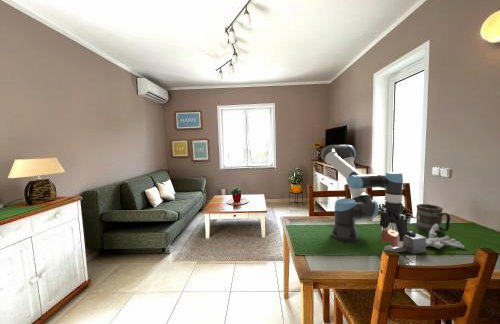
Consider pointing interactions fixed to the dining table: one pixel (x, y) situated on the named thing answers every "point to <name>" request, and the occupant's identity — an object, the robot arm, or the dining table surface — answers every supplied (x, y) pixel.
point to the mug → (430, 217)
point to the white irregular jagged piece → (441, 240)
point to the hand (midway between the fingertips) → (392, 243)
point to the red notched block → (390, 237)
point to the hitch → (411, 244)
